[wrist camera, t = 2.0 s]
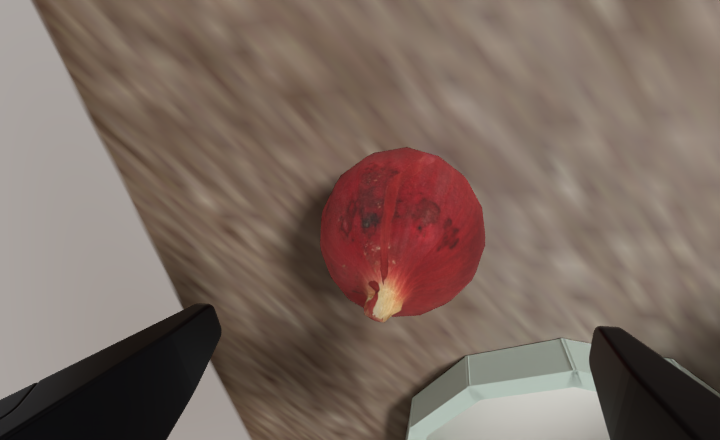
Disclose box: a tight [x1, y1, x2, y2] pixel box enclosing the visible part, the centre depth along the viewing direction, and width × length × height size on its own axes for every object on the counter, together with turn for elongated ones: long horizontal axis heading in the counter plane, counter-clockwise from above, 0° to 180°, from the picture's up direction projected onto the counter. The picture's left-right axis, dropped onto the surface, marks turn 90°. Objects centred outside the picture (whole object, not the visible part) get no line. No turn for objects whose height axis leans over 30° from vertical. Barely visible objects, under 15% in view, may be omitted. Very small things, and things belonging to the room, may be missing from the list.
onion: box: [320, 147, 485, 322], centre depth 13 cm, size 6×6×8 cm
